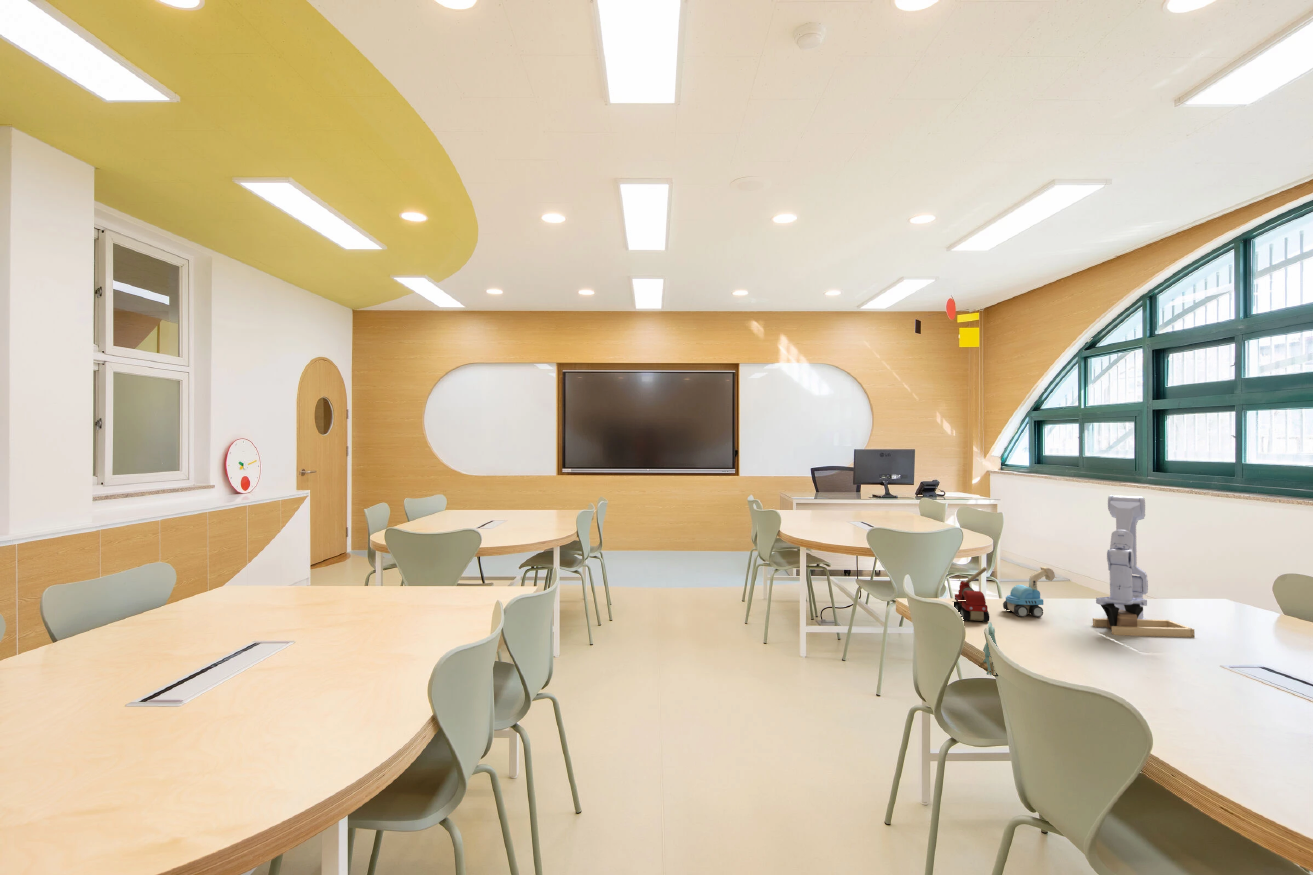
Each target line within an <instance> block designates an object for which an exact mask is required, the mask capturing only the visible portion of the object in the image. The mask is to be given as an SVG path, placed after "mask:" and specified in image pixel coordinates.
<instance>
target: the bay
mask: <svg viewBox="0 0 1313 875" xmlns="http://www.w3.org/2000/svg"><path fill="white" fill-rule="evenodd" d="M1092 626H1093V627H1101V628H1102V627H1103V628H1104V627H1105V628H1108V627H1107V617H1106V618H1102V617H1101V618H1100V617H1099V618H1097V617H1092ZM1111 635H1113V636H1133V637H1134V636H1137V637H1139V636H1141V637H1180V638H1181V637H1182V638H1195V629H1194V628H1192V627H1189V626H1187V625H1184V624H1181V623H1178V622H1175V621H1173V620H1170V619H1148V618H1146V619H1137V627H1124V626H1112V629H1111Z"/></svg>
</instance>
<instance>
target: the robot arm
mask: <svg viewBox="0 0 1313 875" xmlns="http://www.w3.org/2000/svg"><path fill="white" fill-rule="evenodd" d="M1107 509H1108V512H1109V514H1110V516H1111V517H1112V518H1114V519H1115V526H1116V527H1115V528H1116V529H1115V530H1114V531H1112V532H1111V535H1110V543H1109V544H1110V545H1109V549H1107V551H1106V562H1107V565H1108V566H1107V567H1108V568H1107V570H1108V571H1109V596H1104V597H1103V596H1101V597H1096V598H1095V603H1096V604H1098V605H1100V606H1101V608H1102V609H1103V612H1104V613H1105V615H1106V618H1108V620H1109V624H1110V626H1117V615H1118V611H1119V610H1125V611H1128V612H1130V613H1133V614H1136V615H1137V619H1147V618H1145V617H1144V607H1147V606H1148V600H1147V599H1144V596H1145V595H1147V594H1148V592H1149V580H1148V574H1147V572H1146V571H1145V570H1144V569H1142V568H1140V567H1139V566H1138V564H1137V563H1138V562H1137V561H1138V559H1137V558H1138V557H1137V556H1138V555H1137V552H1138V551H1137V525H1138V523H1139V521H1141V520H1144V519H1145V517H1146V499H1145V497H1144V496H1141V495H1140V496H1136V495H1135V496H1133V495H1113V494H1110V495H1108V497H1107Z"/></svg>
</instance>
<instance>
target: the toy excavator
mask: <svg viewBox="0 0 1313 875" xmlns="http://www.w3.org/2000/svg"><path fill="white" fill-rule="evenodd" d="M1039 569H1040V570H1038V571H1036V572H1034V573H1033V574H1031V575H1030V576H1029V578H1028V579H1029V580H1028V586H1026V585H1024V584H1018V585H1017V584H1016V585H1015V586H1013V587H1012V588H1011V590H1010V594H1008V595H1007V596H1005V600H1004V601H1003V603H1002V607H1003V609H1004V610H1005V609H1006V610H1010V611H1012V612H1013V613H1014V614H1015V616H1018V617H1020V618H1022V617H1026V616H1028V615H1029V614H1030V615H1031V616H1034V617H1035V618H1036V617H1037V618H1041V617H1042V616H1043V615H1044V609H1043V608H1042V607H1041V606H1043V605H1044V599H1043V598H1041V592H1040V591H1039V590H1038V581H1039V580H1041V579H1043V578H1044V579H1045V580H1046V581H1050V582H1052V581H1053V580H1054V579H1055V576H1056V575H1055V574H1056V573H1055V572H1054V570H1053V569H1052V568H1049V567H1047V566H1040V567H1039ZM1006 610H1005V611H1006Z"/></svg>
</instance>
